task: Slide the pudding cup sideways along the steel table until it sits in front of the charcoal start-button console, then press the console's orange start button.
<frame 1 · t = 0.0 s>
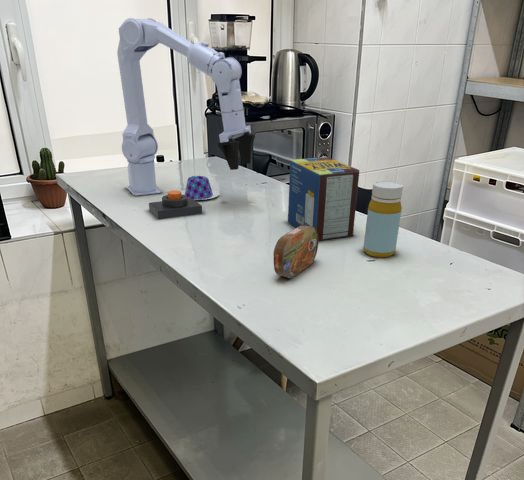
hand: (240, 166, 144), 11 cm above the table, tool pointing down, fingers open, 7 cm apart
tin: (295, 270, 111), on the table
protein box: (319, 229, 134), on the table
pudding: (198, 197, 157), on the table
bottle: (378, 253, 121), on the table
start button: (174, 195, 141), point 4 cm above the table, slide at 0.1 cm
console: (175, 212, 143), on the table
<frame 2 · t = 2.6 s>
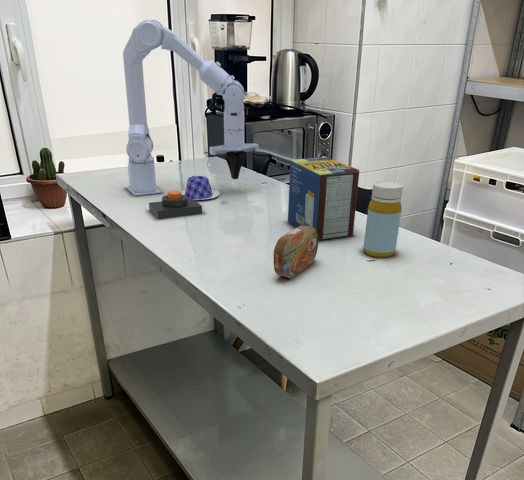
hand: (234, 178, 159), 4 cm above the table, tool pointing down, fingers closed
nothing on the table moved.
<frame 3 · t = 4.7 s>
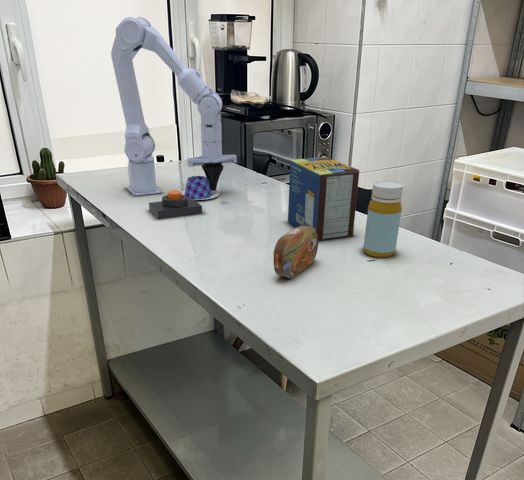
hand: (213, 189, 158), 1 cm above the table, tool pointing down, fingers closed
pudding: (198, 197, 157), on the table, touching gripper
everything else where it was.
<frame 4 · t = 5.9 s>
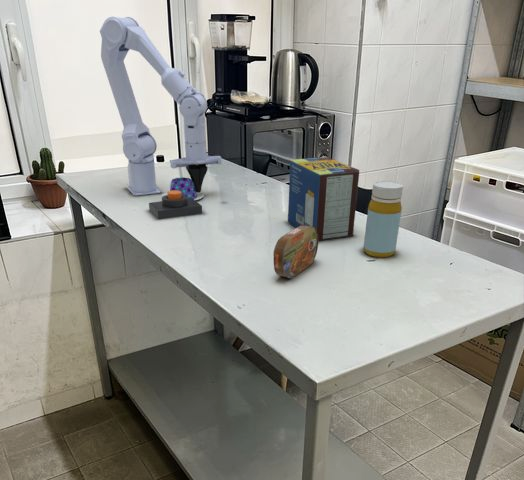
hand: (197, 191, 156), 1 cm above the table, tool pointing down, fingers closed
pudding: (182, 198, 155), on the table, touching gripper
everything else where it was.
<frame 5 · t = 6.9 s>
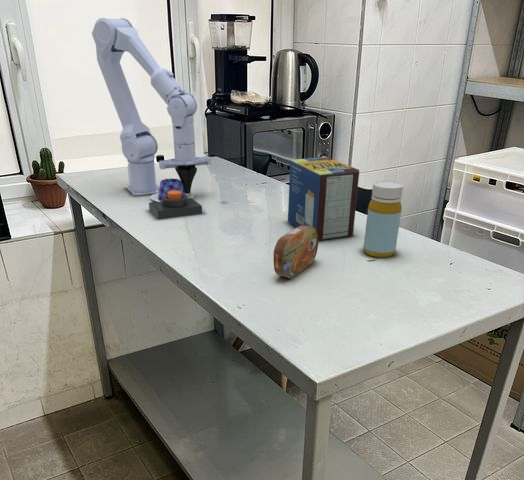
hand: (187, 192, 154), 1 cm above the table, tool pointing down, fingers closed
pudding: (172, 200, 154), on the table, touching gripper
everything else where it was.
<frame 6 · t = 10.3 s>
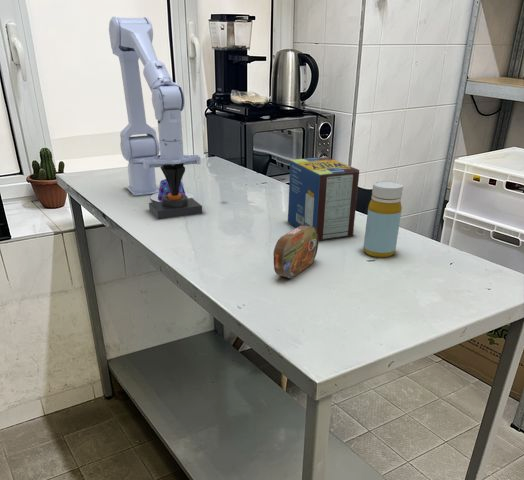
hand: (174, 194, 141), 5 cm above the table, tool pointing down, fingers closed, pressing on start button
pudding: (172, 200, 154), on the table
start button: (174, 197, 141), point 4 cm above the table, slide at -0.5 cm, touching gripper
everything else where it was.
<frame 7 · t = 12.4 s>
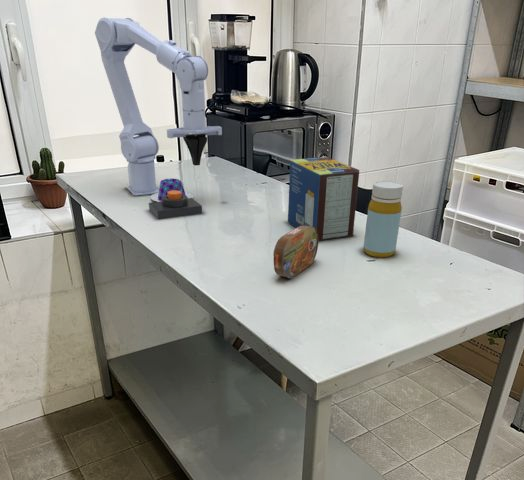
hand: (196, 164, 146), 10 cm above the table, tool pointing down, fingers closed
start button: (174, 195, 141), point 4 cm above the table, slide at 0.1 cm
everything else where it was.
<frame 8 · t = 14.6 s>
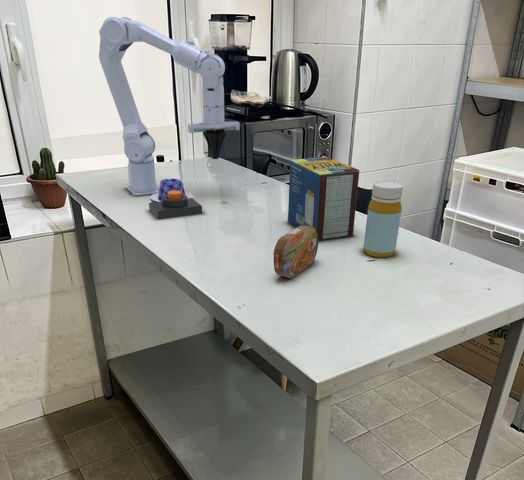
hand: (214, 158, 152), 10 cm above the table, tool pointing down, fingers closed
nothing on the table moved.
at the end: pudding inside the target area (2.9 cm from its centre), on the table; start button pushed in 1.1 cm at the most during the clip, back to where it started at the end; start button slide at 0.1 cm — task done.
